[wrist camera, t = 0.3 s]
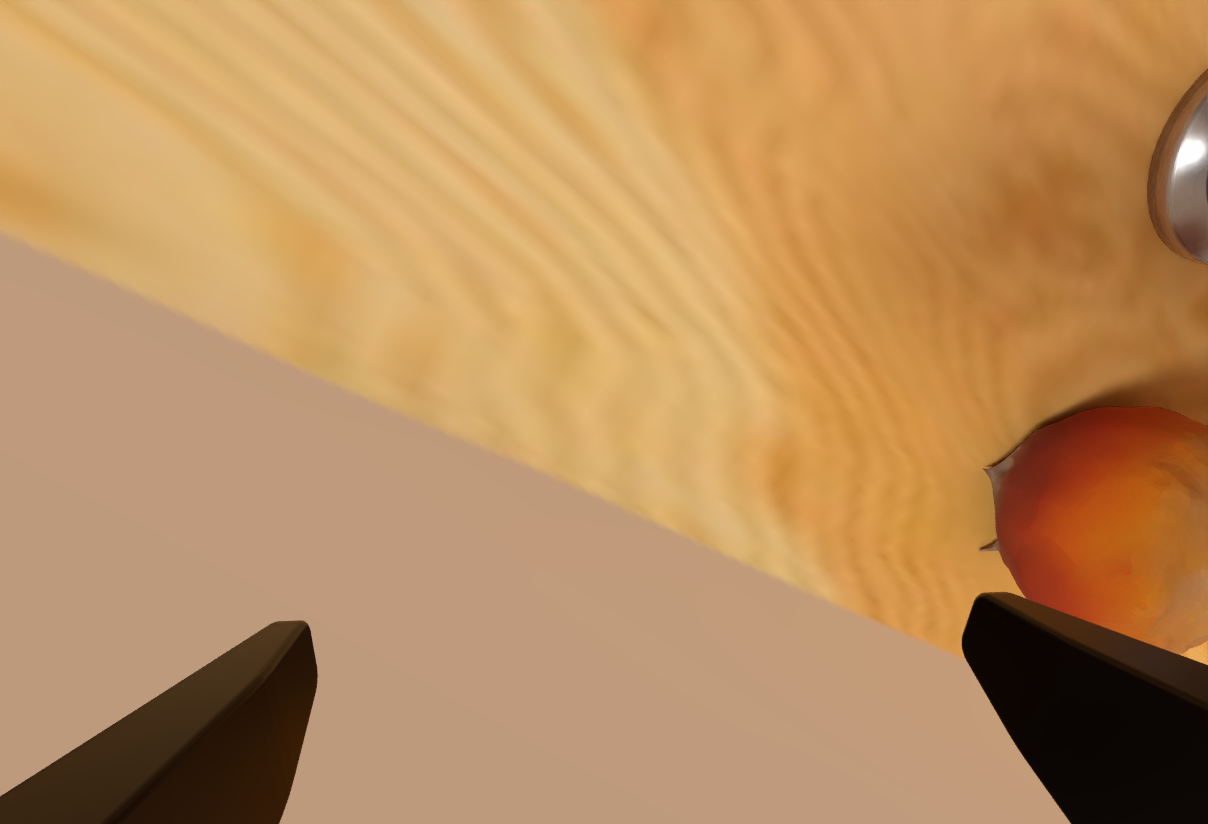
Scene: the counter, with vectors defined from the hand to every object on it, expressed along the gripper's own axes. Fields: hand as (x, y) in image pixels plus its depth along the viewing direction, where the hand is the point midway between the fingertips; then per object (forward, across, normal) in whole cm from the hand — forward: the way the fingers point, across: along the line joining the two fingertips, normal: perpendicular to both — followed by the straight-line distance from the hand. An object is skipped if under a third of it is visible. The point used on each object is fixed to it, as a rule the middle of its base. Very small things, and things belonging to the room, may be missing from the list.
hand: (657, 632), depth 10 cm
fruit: (+14, +18, -7) cm, 24 cm away
